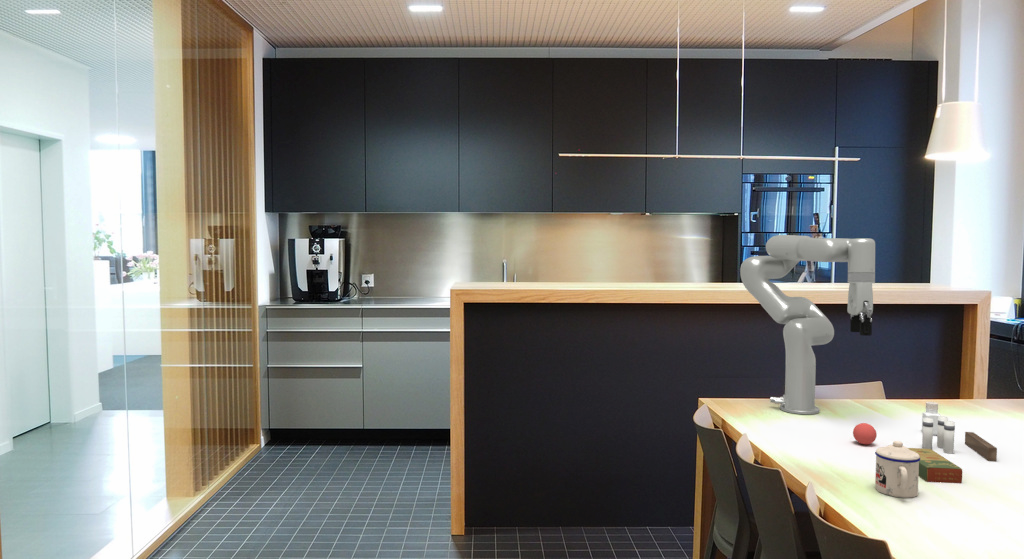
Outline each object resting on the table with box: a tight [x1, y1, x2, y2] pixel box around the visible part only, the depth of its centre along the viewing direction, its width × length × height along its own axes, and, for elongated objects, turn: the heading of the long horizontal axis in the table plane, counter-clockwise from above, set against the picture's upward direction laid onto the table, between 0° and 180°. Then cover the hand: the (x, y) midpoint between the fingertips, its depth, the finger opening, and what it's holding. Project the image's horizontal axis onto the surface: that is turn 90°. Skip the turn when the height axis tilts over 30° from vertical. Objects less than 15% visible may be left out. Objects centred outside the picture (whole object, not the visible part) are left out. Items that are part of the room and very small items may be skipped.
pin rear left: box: [936, 415, 949, 449], centre depth 195 cm, size 2×2×8 cm
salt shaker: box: [921, 401, 941, 436], centre depth 209 cm, size 4×4×10 cm
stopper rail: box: [964, 431, 998, 462], centre depth 191 cm, size 2×16×4 cm, turn 166°
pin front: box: [921, 417, 934, 450], centre depth 194 cm, size 2×2×8 cm
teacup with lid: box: [874, 440, 920, 499], centre depth 159 cm, size 12×9×12 cm
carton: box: [907, 447, 963, 484], centre depth 174 cm, size 8×16×4 cm, turn 173°
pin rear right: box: [942, 420, 956, 455], centre depth 190 cm, size 2×2×8 cm
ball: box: [852, 422, 878, 446], centre depth 198 cm, size 6×6×6 cm
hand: (860, 333), depth 215 cm, fingers open, 9 cm apart
